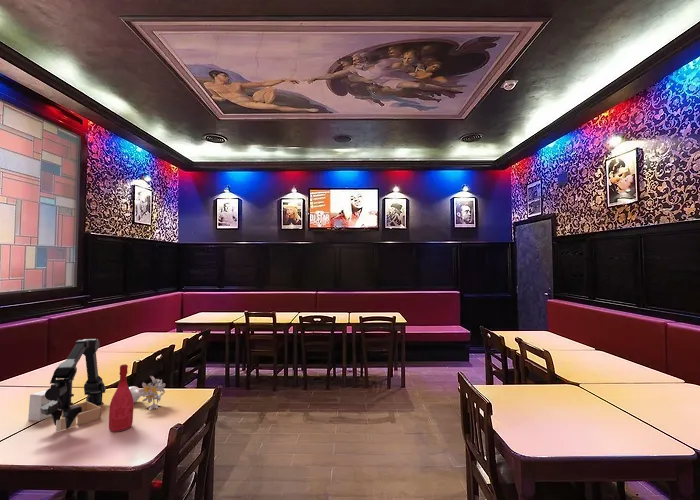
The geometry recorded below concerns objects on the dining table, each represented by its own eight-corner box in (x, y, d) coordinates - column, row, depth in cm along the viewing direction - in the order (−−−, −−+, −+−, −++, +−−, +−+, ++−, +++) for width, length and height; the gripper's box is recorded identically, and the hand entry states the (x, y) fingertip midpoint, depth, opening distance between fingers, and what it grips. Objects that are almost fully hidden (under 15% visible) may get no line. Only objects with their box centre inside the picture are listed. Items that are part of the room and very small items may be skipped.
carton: (86, 411, 188) (87, 401, 189) (100, 418, 180) (101, 407, 180) (63, 418, 180) (64, 407, 180) (77, 425, 171) (78, 414, 172)
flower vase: (123, 417, 197) (154, 413, 188) (113, 386, 197) (143, 380, 188) (144, 405, 209) (173, 400, 200) (134, 376, 209) (164, 369, 200)
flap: (55, 431, 164) (56, 420, 165) (74, 425, 171) (75, 414, 171) (56, 432, 164) (57, 420, 164) (75, 426, 170) (76, 415, 171)
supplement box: (39, 421, 176) (41, 395, 176) (27, 420, 177) (29, 394, 178) (54, 415, 183) (56, 390, 184) (43, 414, 184) (44, 389, 185)
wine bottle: (106, 434, 163) (110, 368, 165) (109, 426, 171) (113, 363, 173) (131, 430, 167) (134, 366, 169) (133, 422, 176) (136, 361, 178)
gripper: (31, 395, 162) (29, 430, 161) (56, 401, 155) (54, 438, 154) (59, 388, 173) (57, 421, 172) (83, 393, 166) (81, 427, 165)
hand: (61, 427), depth 165 cm, fingers open, 8 cm apart
